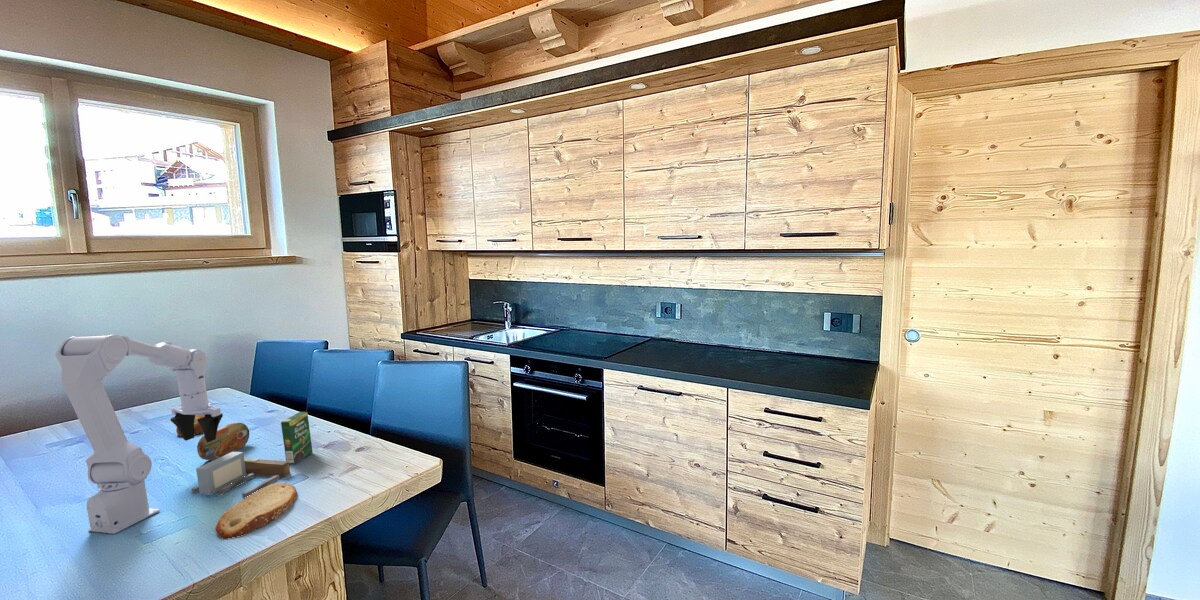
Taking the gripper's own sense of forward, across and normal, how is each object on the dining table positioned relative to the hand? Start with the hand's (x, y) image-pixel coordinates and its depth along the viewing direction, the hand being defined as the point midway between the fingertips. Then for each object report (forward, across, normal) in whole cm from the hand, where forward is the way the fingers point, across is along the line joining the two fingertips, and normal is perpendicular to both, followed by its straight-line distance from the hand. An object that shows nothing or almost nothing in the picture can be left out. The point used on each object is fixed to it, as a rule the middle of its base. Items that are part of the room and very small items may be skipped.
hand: (200, 439), depth 136 cm
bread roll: (+10, +36, -27) cm, 46 cm away
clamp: (+10, -16, +3) cm, 19 cm away
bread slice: (+10, -34, +14) cm, 38 cm away
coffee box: (+10, -20, -12) cm, 25 cm away
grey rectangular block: (+10, -12, +5) cm, 16 cm away
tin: (+10, +7, -12) cm, 17 cm away
